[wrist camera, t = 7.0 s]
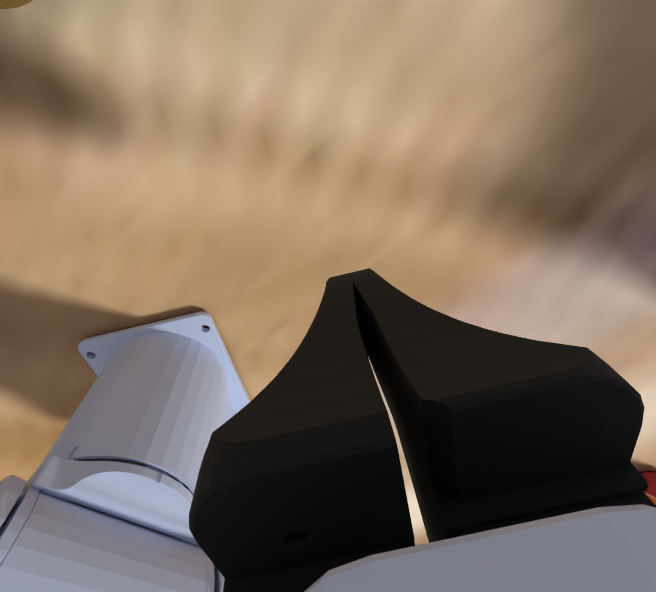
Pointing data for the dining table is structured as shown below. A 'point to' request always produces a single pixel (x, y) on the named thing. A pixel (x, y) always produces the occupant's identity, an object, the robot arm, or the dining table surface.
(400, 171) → the dining table surface
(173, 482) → the robot arm
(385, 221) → the dining table surface
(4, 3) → the cupcake
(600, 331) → the dining table surface
